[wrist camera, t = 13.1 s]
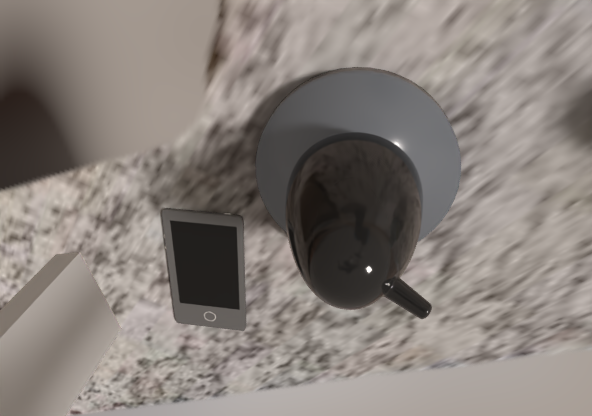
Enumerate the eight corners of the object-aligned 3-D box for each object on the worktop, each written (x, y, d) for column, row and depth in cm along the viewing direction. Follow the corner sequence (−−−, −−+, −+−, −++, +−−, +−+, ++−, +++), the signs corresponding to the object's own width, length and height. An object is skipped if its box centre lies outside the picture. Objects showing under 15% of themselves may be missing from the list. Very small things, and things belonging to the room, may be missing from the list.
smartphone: (162, 204, 46) (159, 208, 45) (244, 212, 45) (242, 216, 44) (176, 318, 53) (174, 322, 53) (247, 326, 53) (245, 331, 52)
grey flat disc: (453, 49, 35) (457, 55, 33) (460, 238, 43) (463, 250, 41) (239, 85, 39) (233, 92, 37) (281, 254, 46) (278, 266, 45)
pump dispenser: (381, 244, 42) (388, 381, 29) (276, 197, 41) (233, 316, 28) (444, 150, 37) (486, 264, 24) (325, 94, 36) (301, 180, 23)
